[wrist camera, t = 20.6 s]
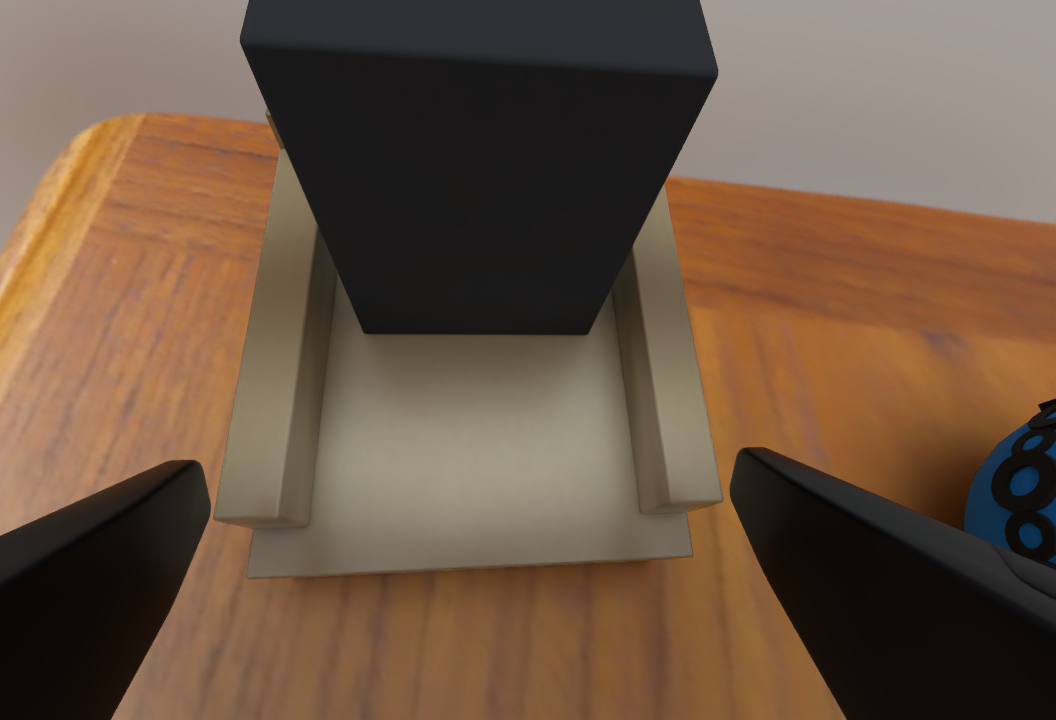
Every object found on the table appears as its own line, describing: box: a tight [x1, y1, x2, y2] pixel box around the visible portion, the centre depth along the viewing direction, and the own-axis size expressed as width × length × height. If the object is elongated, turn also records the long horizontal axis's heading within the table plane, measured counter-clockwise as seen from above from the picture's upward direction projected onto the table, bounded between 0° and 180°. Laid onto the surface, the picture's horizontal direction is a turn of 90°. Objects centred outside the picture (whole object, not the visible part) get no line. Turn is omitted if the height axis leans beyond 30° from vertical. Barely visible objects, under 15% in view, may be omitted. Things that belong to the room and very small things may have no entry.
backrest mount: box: [213, 107, 723, 579], centre depth 14 cm, size 11×10×6 cm
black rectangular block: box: [240, 0, 718, 335], centre depth 11 cm, size 4×6×8 cm, turn 93°
